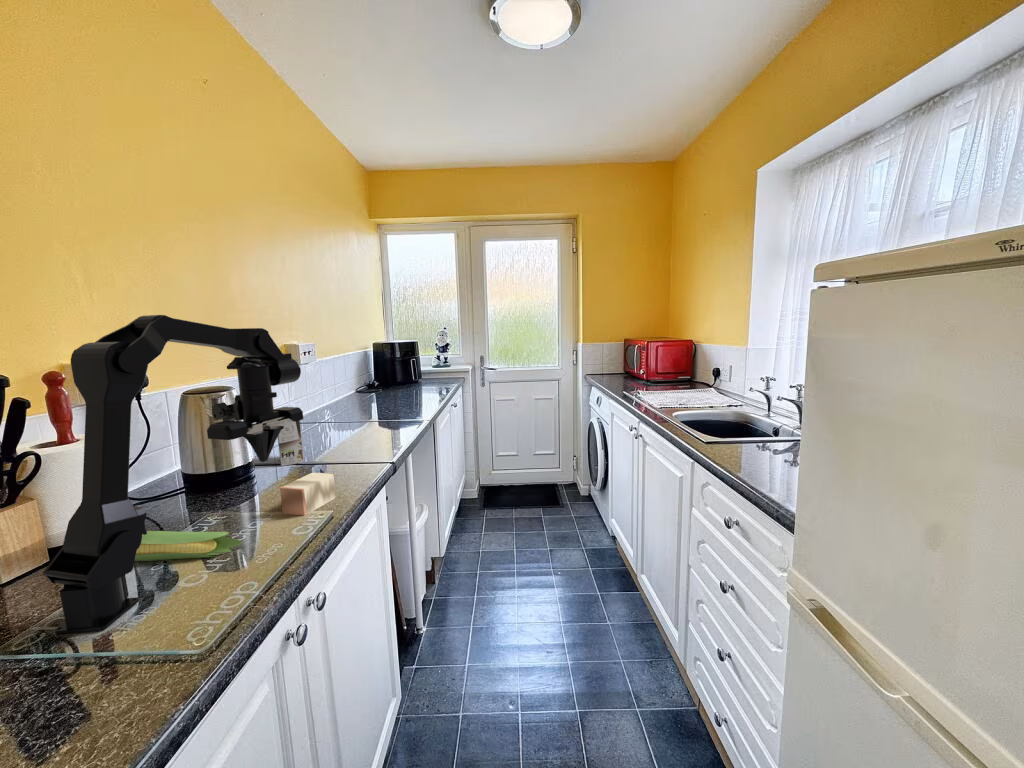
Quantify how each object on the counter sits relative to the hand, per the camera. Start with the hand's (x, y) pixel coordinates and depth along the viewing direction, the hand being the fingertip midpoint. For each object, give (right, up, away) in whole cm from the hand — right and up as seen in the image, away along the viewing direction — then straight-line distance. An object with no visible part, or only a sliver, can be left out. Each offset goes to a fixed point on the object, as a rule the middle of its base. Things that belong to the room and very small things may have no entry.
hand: (263, 461), depth 89 cm
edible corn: (-8, -16, -12) cm, 21 cm away
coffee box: (-17, -8, +43) cm, 47 cm away
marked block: (+4, -10, +3) cm, 11 cm away
